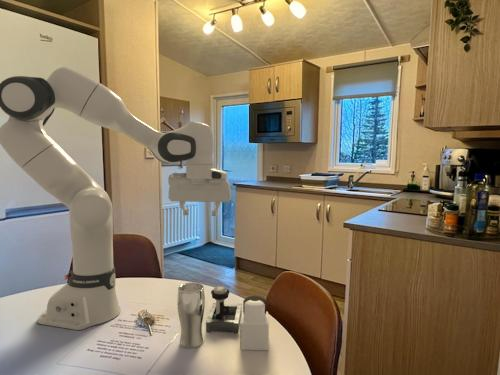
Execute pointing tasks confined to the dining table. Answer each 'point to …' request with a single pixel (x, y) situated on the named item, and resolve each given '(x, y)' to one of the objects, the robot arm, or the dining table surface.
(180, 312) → the beer glass
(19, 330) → the dining table surface
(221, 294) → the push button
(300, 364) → the dining table surface
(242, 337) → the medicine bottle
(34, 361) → the dining table surface
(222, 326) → the frame
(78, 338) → the dining table surface
